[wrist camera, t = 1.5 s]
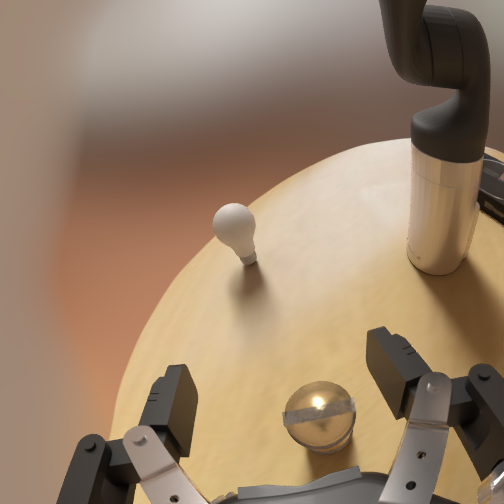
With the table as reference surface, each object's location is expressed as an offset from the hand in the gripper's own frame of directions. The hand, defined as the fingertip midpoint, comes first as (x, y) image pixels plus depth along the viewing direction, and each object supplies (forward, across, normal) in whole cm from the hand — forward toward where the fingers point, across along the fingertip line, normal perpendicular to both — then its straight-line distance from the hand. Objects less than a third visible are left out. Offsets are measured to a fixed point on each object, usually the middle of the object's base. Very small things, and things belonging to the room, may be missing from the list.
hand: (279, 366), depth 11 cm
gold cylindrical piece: (+8, -4, +18) cm, 20 cm away
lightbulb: (+34, +2, +7) cm, 34 cm away
